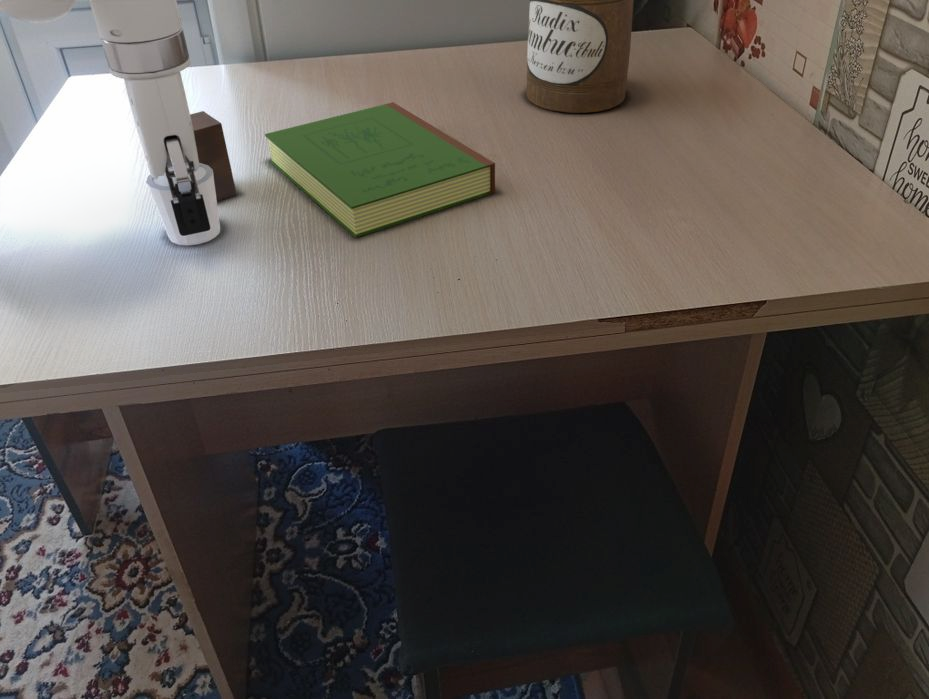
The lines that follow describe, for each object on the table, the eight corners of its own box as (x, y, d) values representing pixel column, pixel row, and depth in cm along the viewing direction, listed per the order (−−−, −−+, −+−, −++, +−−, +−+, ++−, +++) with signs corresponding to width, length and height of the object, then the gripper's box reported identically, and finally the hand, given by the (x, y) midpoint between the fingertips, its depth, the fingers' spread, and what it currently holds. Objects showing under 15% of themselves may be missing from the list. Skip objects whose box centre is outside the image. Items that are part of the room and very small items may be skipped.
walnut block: (197, 207, 92) (179, 134, 87) (181, 193, 96) (162, 121, 90) (237, 195, 95) (221, 123, 89) (219, 181, 98) (203, 110, 92)
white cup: (205, 212, 92) (191, 155, 87) (238, 231, 88) (225, 173, 83) (151, 233, 88) (133, 175, 83) (183, 255, 84) (166, 195, 80)
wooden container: (506, 99, 118) (508, -64, 105) (563, 72, 127) (572, -81, 113) (589, 122, 111) (603, -50, 97) (643, 92, 119) (663, -69, 106)
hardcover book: (494, 192, 94) (495, 163, 92) (355, 237, 86) (351, 207, 84) (392, 126, 111) (390, 100, 108) (267, 159, 103) (262, 132, 100)
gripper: (100, 33, 81) (146, 191, 92) (112, 85, 68) (164, 262, 79) (175, 23, 83) (212, 178, 94) (200, 72, 70) (239, 245, 81)
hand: (190, 215), depth 86 cm, fingers closed on white cup, 6 cm apart
